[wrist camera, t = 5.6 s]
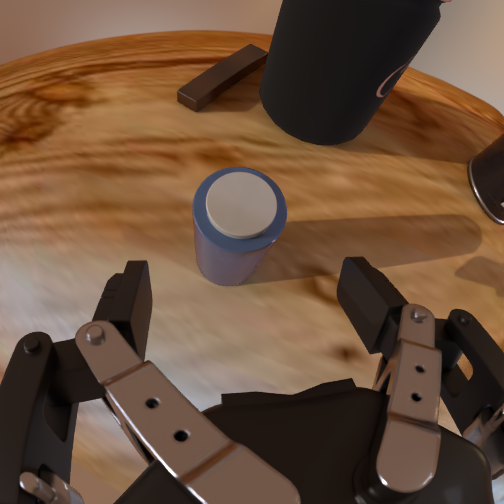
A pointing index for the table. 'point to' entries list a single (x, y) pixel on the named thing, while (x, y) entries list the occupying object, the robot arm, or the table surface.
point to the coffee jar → (340, 62)
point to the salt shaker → (236, 223)
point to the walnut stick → (220, 77)
